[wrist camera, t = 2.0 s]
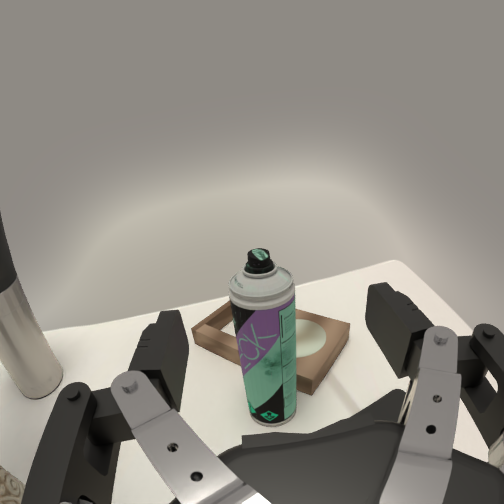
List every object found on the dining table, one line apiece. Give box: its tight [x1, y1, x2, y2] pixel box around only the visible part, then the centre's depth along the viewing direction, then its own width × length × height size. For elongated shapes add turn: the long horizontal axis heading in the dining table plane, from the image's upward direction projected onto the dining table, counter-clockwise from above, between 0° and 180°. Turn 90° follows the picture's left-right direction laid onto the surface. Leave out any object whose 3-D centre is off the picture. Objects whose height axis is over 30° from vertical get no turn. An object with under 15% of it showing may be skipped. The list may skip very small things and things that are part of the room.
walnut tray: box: [191, 301, 350, 395], centre depth 41 cm, size 20×12×3 cm, turn 53°
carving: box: [0, 466, 25, 504], centre depth 10 cm, size 6×8×12 cm
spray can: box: [229, 248, 296, 427], centre depth 27 cm, size 6×6×20 cm
